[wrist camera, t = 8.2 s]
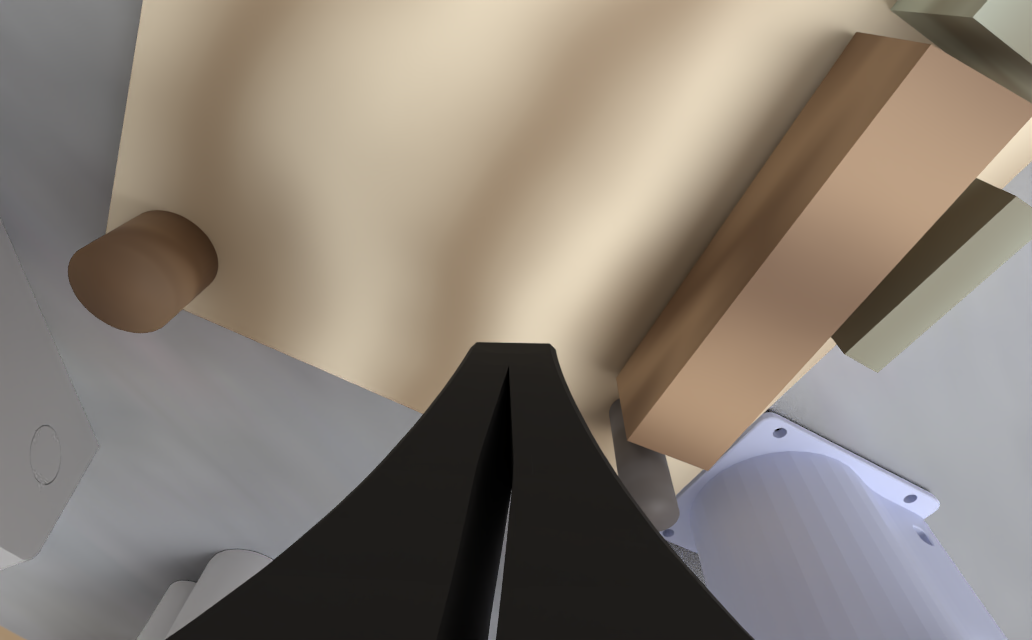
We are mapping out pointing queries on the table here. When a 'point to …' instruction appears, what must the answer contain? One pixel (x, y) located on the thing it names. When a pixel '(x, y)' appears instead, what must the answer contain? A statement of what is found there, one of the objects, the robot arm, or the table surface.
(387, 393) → the board
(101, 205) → the table surface
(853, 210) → the folding leg
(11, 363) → the grey rounded block
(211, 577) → the vase
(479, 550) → the robot arm
